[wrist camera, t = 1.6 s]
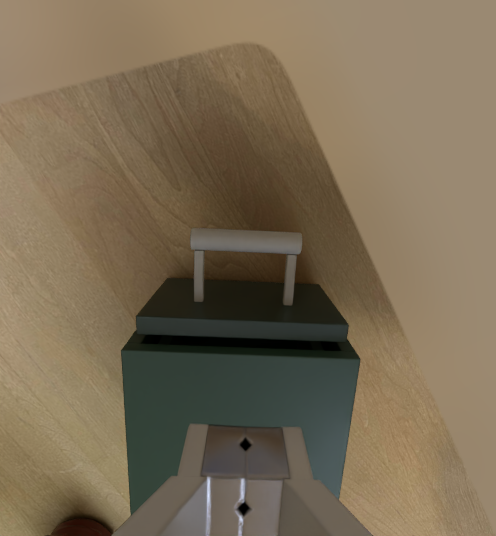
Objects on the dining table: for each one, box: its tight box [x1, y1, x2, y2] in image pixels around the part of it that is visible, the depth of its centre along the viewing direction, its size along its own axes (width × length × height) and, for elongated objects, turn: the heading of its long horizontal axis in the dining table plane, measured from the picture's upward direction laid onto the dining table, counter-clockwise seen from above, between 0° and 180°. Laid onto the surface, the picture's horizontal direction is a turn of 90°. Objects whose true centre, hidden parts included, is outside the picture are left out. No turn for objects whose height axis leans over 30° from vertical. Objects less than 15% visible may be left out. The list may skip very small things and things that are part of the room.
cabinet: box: [121, 329, 360, 515], centre depth 25 cm, size 16×14×10 cm
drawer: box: [136, 228, 349, 351], centre depth 24 cm, size 20×13×8 cm, turn 177°
